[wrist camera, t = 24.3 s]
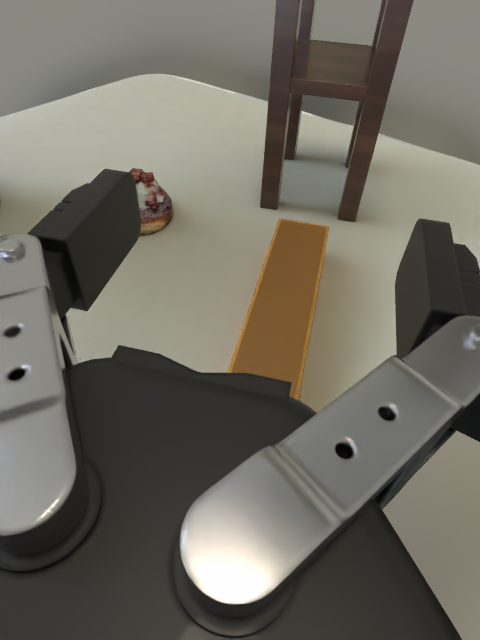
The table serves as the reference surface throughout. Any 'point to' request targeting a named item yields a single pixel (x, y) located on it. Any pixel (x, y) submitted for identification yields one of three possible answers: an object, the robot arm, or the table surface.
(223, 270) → the table surface
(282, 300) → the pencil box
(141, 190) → the pastry
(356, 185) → the stand
